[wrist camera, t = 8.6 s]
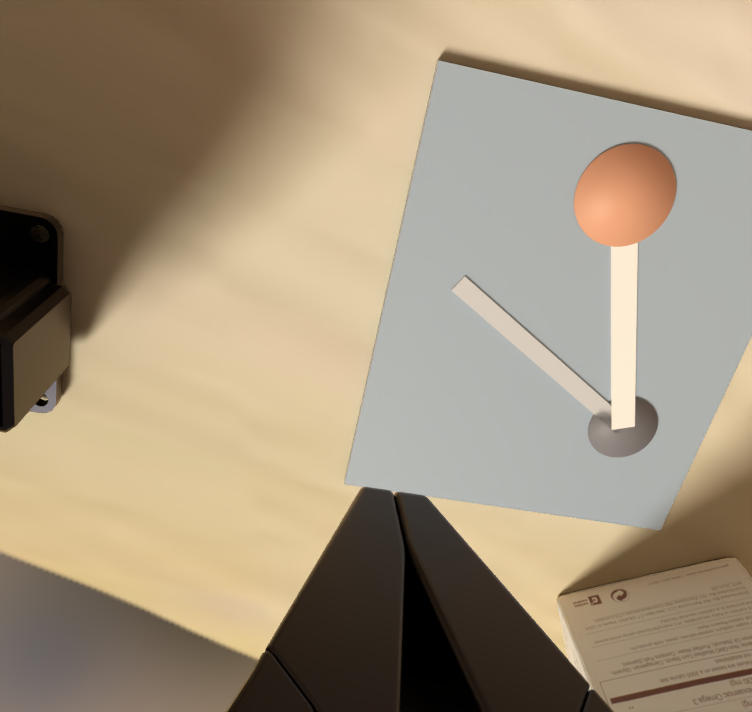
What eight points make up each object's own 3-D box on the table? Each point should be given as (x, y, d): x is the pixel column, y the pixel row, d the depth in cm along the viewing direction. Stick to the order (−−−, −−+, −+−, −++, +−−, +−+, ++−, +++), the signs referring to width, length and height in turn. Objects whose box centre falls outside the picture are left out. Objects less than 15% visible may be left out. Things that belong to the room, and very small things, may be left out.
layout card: (344, 479, 24) (344, 485, 24) (437, 60, 18) (439, 60, 18) (657, 525, 25) (661, 531, 25) (832, 148, 20) (840, 150, 19)
